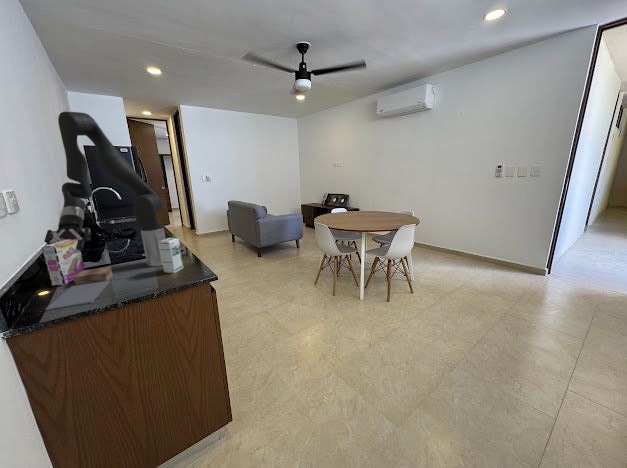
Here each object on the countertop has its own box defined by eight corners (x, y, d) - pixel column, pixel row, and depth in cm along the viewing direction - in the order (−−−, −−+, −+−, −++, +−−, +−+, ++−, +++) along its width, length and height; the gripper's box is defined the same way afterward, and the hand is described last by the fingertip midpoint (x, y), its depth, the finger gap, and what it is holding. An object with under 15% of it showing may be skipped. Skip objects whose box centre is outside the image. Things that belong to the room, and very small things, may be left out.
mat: (109, 281, 103) (109, 280, 103) (91, 303, 86) (91, 301, 86) (72, 287, 98) (71, 286, 98) (45, 310, 82) (45, 309, 82)
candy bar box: (65, 285, 100) (54, 246, 96) (51, 286, 100) (40, 246, 96) (87, 274, 111) (78, 238, 107) (75, 275, 111) (65, 239, 106)
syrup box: (175, 273, 110) (169, 241, 107) (163, 272, 111) (157, 240, 108) (184, 268, 116) (179, 237, 112) (172, 267, 117) (167, 237, 113)
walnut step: (112, 275, 109) (110, 266, 108) (107, 281, 103) (105, 272, 102) (83, 279, 105) (81, 270, 104) (76, 286, 99) (73, 277, 98)
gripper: (45, 215, 106) (37, 248, 99) (88, 212, 112) (83, 243, 104) (56, 225, 113) (49, 257, 105) (95, 222, 118) (91, 252, 110)
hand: (66, 250), depth 105 cm, fingers open, 8 cm apart
